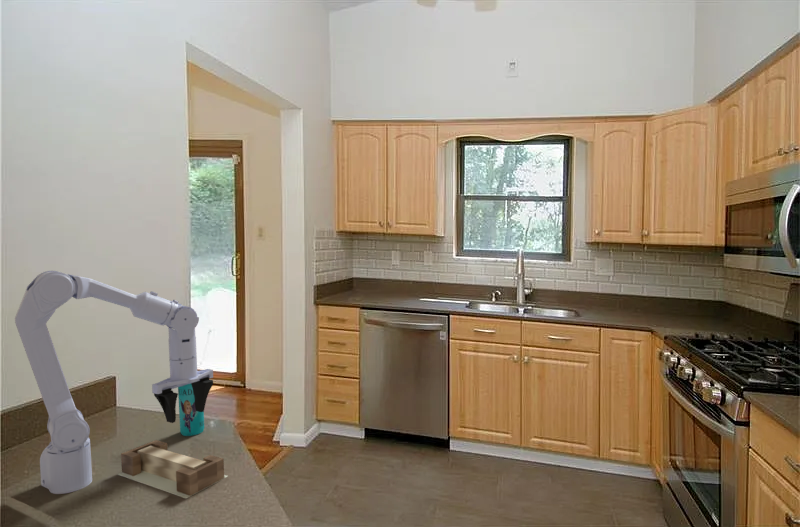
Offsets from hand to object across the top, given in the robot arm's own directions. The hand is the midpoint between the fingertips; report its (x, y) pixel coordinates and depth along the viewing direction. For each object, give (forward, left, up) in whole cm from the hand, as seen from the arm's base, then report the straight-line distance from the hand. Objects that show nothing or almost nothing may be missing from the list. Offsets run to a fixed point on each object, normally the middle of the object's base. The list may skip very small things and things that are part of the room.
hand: (185, 416), depth 114 cm
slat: (+7, -9, -8) cm, 14 cm away
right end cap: (+16, -9, -8) cm, 20 cm away
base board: (+7, -9, -9) cm, 15 cm away
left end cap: (-2, -9, -8) cm, 12 cm away
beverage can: (-10, +9, -10) cm, 17 cm away
